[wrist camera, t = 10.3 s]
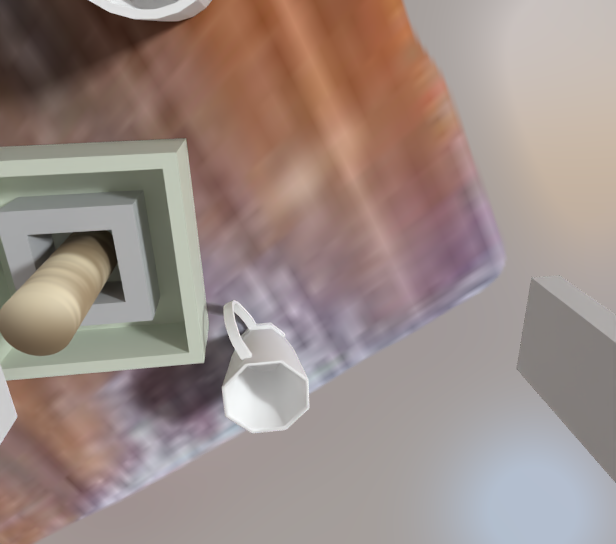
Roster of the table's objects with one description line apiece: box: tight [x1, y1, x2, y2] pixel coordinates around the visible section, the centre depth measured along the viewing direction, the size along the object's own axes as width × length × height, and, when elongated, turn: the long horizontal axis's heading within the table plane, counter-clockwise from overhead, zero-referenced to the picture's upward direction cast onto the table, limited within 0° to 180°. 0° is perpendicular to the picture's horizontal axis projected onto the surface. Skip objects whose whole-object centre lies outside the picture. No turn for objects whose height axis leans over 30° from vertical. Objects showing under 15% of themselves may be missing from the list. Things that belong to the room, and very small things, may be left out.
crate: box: [0, 138, 209, 380], centre depth 37 cm, size 16×16×6 cm
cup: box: [222, 300, 309, 433], centre depth 41 cm, size 7×10×8 cm
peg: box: [0, 230, 118, 356], centre depth 34 cm, size 4×4×12 cm
